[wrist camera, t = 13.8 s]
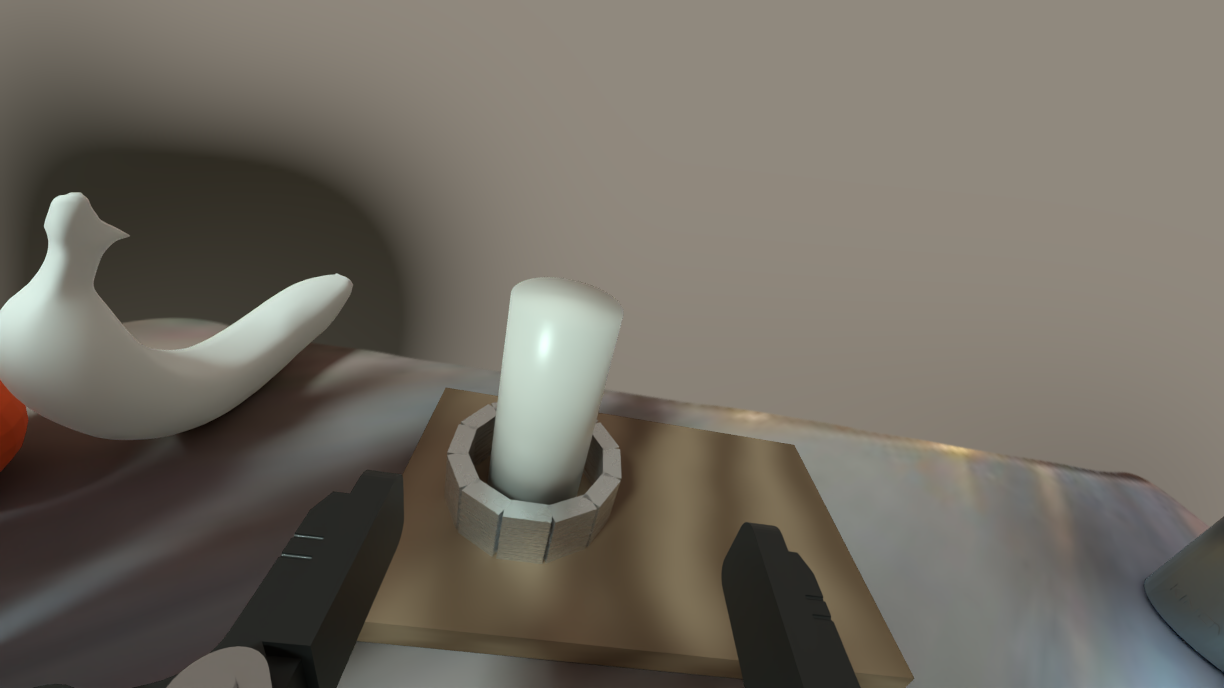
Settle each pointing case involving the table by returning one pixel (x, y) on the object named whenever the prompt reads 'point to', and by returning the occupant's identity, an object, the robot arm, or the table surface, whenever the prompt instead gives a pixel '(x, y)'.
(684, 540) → the board
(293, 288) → the white bird figurine
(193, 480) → the table surface
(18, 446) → the clementine
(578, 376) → the white rounded cylinder
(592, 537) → the collar
